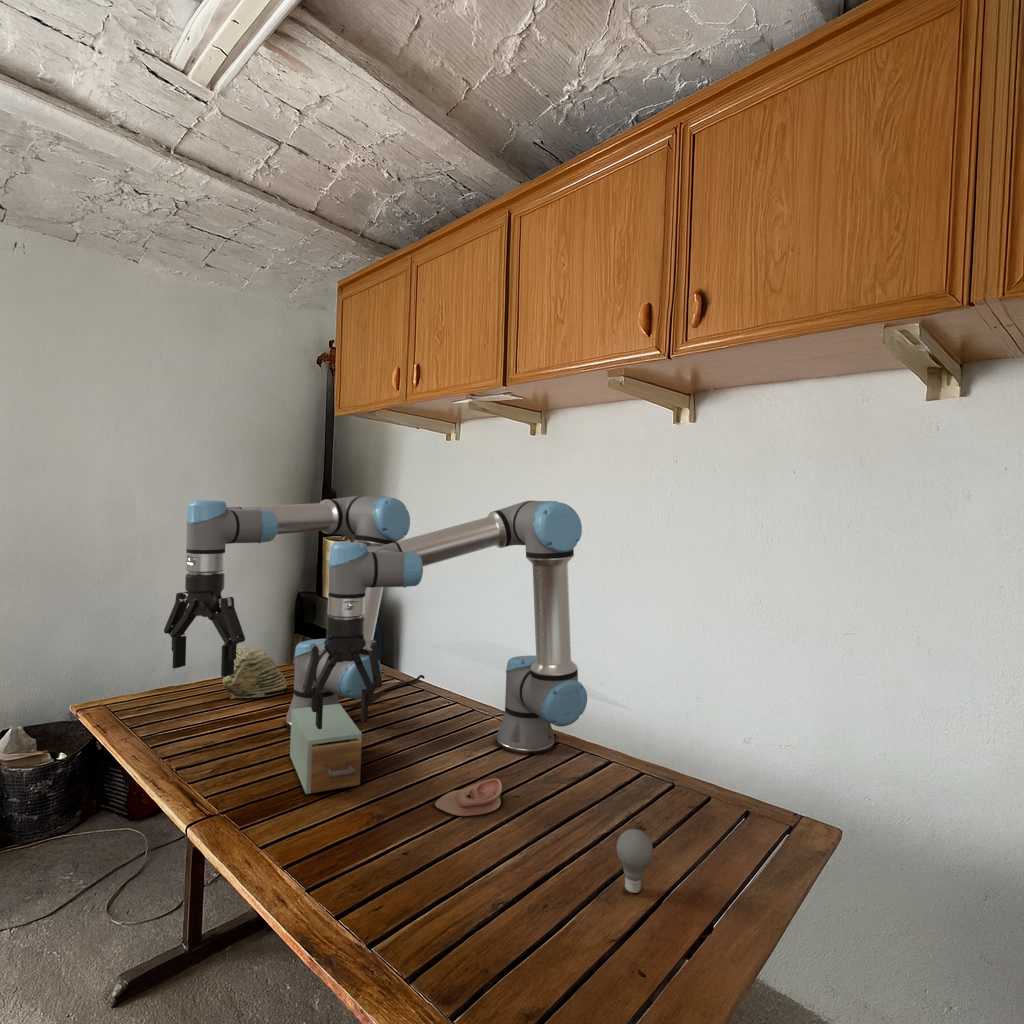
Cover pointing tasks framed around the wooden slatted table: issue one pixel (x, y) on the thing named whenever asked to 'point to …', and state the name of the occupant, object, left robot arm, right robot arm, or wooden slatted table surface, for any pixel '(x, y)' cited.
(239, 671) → the fossil
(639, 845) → the light bulb
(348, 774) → the drawer
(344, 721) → the cabinet
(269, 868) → the wooden slatted table surface
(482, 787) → the anatomical model
